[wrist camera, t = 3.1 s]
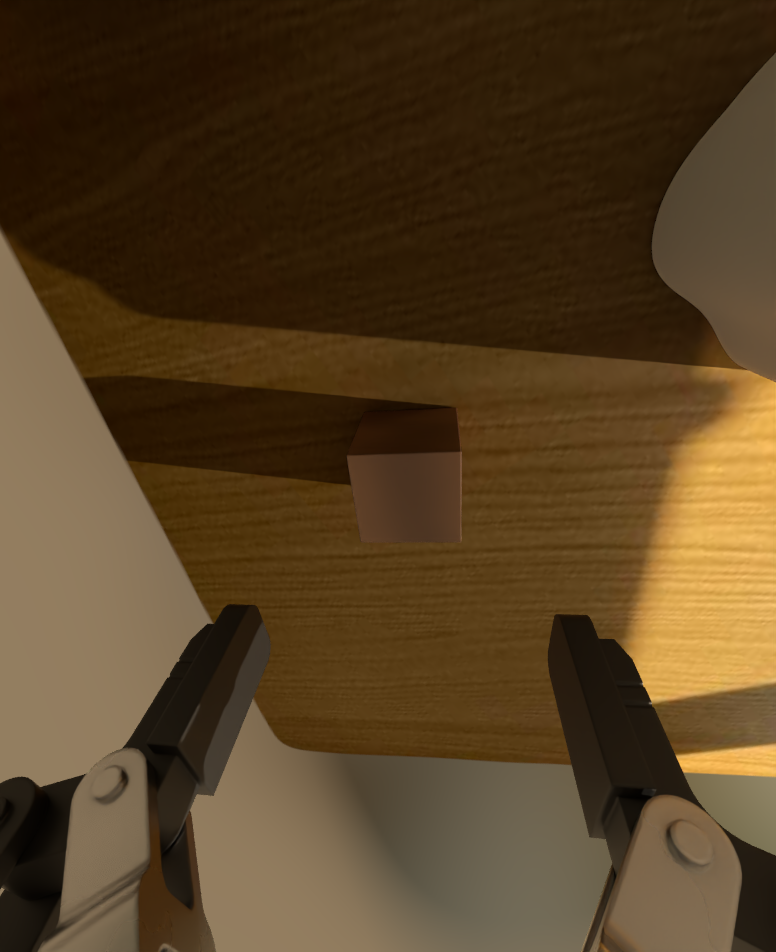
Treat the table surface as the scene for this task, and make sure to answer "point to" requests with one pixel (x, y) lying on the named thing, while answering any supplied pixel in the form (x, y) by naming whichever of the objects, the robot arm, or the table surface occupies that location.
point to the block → (407, 476)
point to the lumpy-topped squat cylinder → (728, 226)
